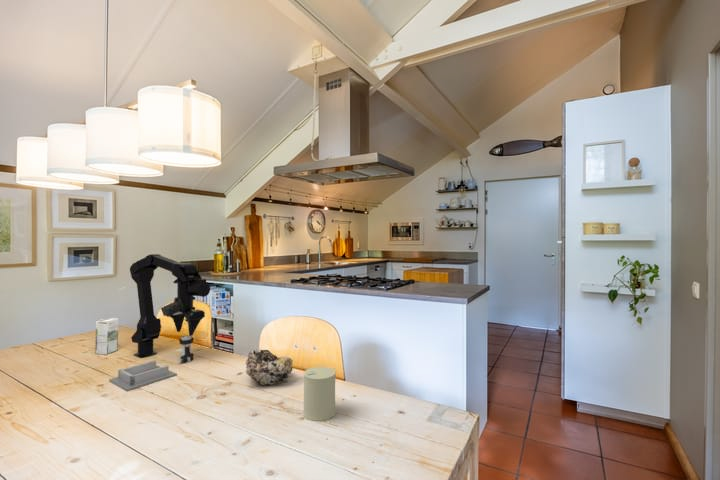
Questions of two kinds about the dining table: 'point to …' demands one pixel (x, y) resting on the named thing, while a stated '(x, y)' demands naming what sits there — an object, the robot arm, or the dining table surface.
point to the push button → (186, 349)
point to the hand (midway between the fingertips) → (184, 333)
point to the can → (319, 393)
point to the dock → (141, 375)
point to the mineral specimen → (268, 367)
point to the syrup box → (106, 335)
